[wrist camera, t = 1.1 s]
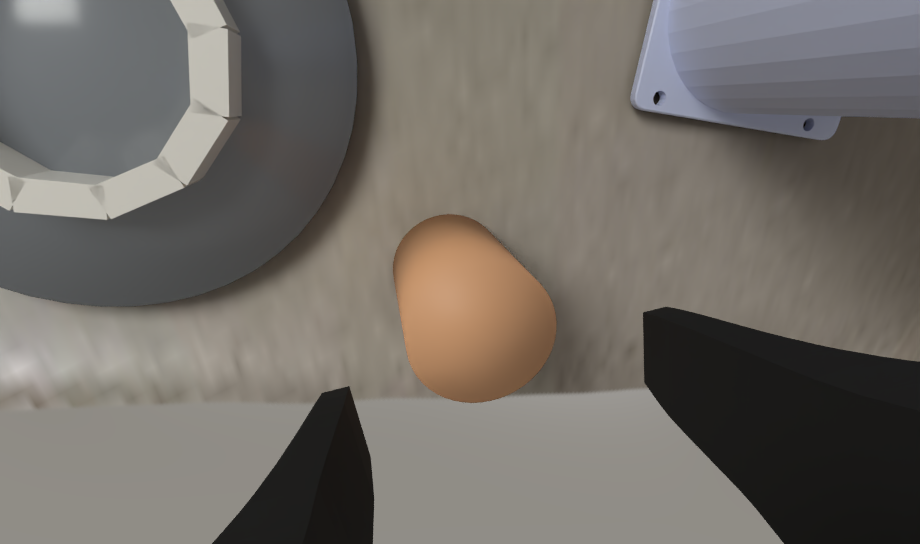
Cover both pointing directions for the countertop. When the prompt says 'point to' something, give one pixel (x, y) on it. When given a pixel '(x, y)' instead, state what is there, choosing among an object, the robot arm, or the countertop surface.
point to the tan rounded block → (470, 311)
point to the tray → (165, 140)
